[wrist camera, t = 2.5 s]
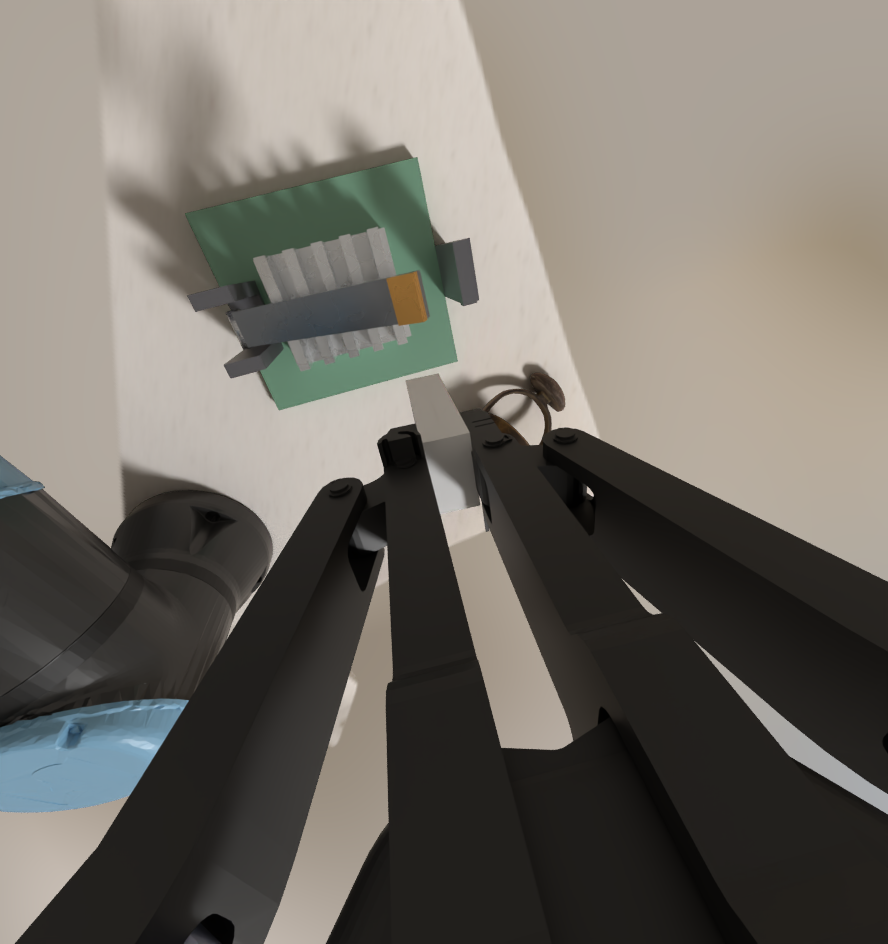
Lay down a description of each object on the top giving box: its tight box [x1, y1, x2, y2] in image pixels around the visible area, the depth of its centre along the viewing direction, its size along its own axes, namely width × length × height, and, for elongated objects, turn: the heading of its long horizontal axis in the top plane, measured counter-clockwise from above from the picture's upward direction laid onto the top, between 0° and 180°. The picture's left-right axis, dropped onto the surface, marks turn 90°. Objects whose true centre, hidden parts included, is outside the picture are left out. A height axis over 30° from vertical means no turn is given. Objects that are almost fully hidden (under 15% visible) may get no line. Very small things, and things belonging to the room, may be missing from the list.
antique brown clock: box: [483, 373, 565, 445], centre depth 40 cm, size 7×13×10 cm
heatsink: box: [253, 227, 412, 371], centre depth 30 cm, size 10×8×5 cm
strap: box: [225, 270, 430, 350], centre depth 24 cm, size 16×3×1 cm
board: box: [185, 157, 458, 410], centre depth 33 cm, size 18×16×1 cm
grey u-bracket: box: [187, 281, 284, 378], centre depth 29 cm, size 3×6×7 cm, turn 12°
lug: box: [435, 238, 479, 306], centre depth 30 cm, size 1×4×9 cm, turn 12°
